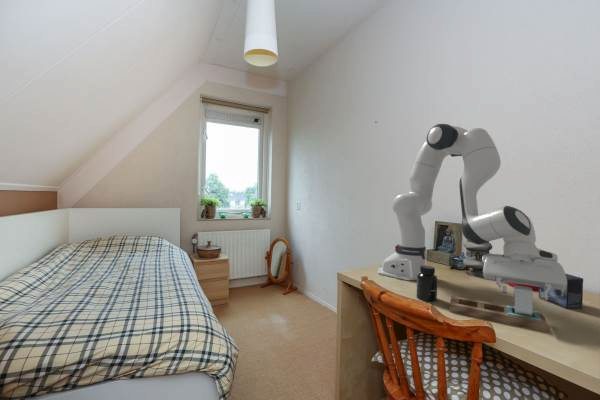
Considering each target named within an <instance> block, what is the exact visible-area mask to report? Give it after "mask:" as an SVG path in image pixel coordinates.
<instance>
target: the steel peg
mask: <svg viewBox="0 0 600 400" xmlns="http://www.w3.org/2000/svg"><path fill="white" fill-rule="evenodd" d="M533 301H534V291H533V290H532V289H531V287H524V286H517V285H514V287H513V307H514V309H513V313H514V314H519V315H524V316H529V317H532V311H533V308H534V307H533V304H534V303H533Z"/></svg>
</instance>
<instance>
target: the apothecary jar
mask: <svg viewBox="0 0 600 400" xmlns="http://www.w3.org/2000/svg"><path fill="white" fill-rule="evenodd" d="M463 247H464V248H465V251H466V252H465V258H463V261H462V262H463V264H464V266H465V267H467V268H470V269H468V270H466V271H465V272H464V273H465V274H467V275H468V276H471V277H475V278H476V277H477V278H485V277H484V276H483V267H484V263H483V262H482V256H483V255H485V254H488V253H490V251H491V250H492V249H493V245H492V243H491V242H490V241H489V242H486V243H483V244H480V245H478V244H475V243H472V242H470V241H469V240H467V239H466V240H465V241H464V242H463ZM486 256H487V255H486Z"/></svg>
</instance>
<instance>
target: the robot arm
mask: <svg viewBox="0 0 600 400" xmlns="http://www.w3.org/2000/svg"><path fill="white" fill-rule="evenodd" d="M447 156H450V157H453V158H454V157H462V161H463V166H464V167H463V172H462V176H461V177H460V178H459V197H460V198H459V199H460V206H461V207H460V208H461V219H462V220H461V232H462V234H463V237H464V238H465V239H466V241H467V240H469V241H470V242H472V243H475V244H478V245H480V244H483V243H486V242H489V243H490V242H491V241H494V240H499V239H502V240H503V242H504V243H503V247H502V248H503V254H499V253H495V254H494V253H490V252H489V253H488V254H485V255H483V256H482V262H483V263H484V267H483V270H482V271H483V276H484V277H483V278H484V279H486V280H490V281H495V284H496V285H497V287H499V289H500V293H501V294H507V293H508V291H507V288H508V287H507V285H504V284H503V283H509V282H510V283H517V284H524V285H531V286H537V287H544V290H545V292H540V298H539V299H540V300H541V301H542V300H543V301H546V300H547V299H548V293H549V292H550V291H551V289H558V290H563V289H564V288H565V287H566V285H567V278H566V275H565V274H566V272H565V269H564V267H563V265H562V264H561V263H559V262H558V258H559V257H558V255H557V254H556V253H553V252H552V251H546V250H544V249H541V248H537V245H536V242H537V237H536V231H535V227H534V224H533V222H532V220H531V218H530V217H529V216H528V215H526V213H524V212H523V211H522V210H520V209H518V208H515V207H513V206H511V205H510V206H509V205H505V206H502V207H498V208H494V209H491V210H489V211H487V212H483V213H480V214H479V210H478V201H477V195H478V192H479V190H480V189H481V188H482V187H483V186H484V185H485V184H486V183H487V182H488V181H489V180H491V179H492V178H493V177H494V176H495V175H496V174H497V172H498V171H499V169H500V168H501V162H502V161H501V157H500V153H499V151H498V149H497V145H496V144H495V141H494V140H493V138H492V137H491V135H490V134H489V133H488V131H487V130H486V129H485V128H481V127H476V128H471V129H469V130H467V129H466V128H462V127H460V126H454V125H450V124H449V123H448V124H447V123H438V124H435V125H433V126H432V127H431V128H430V129H429V130H428V132H427V135H426V141H424V143H423V144H422V145H421V147H420V149H419V151H418V153H417V154H416V157H415V159H414V160H415V161H414V163H413V167H412V168H411V171H410V175H409V182H410V183H409V190H408V191H409V192H404V193H401V194H399V195H397V196H395V198H393V200H392V203H391V205H392V210H393V212H394V213H395V216H396V217H397V218H396V219H397V221H398V226H399V228H398V229H399V243H397V244H396V245H395V246H394V251H395V252H393V253H392V254H391V255H389V256H388V257H386V258H385V259H384V260H383V262H382V266H381V267H379V268H378V269H377V274H378V275H382V276H386V277H391V278H395V279H400V280H404V281H417V275H418V274H419V273H421V272H420V266H427V264H426V258H427V246H426V229H425V227H424V225H423V222H422V217H421V216H424V215H426V214H427V213H429V212H430V211H431V210H432V207H433V200H432V199H433V192H434V188H435V184H436V181H437V178H438V175H439V173H440V170H441V167H442V165H443V161H444V159H445V158H446V157H447ZM486 255H487V256H486ZM502 282H503V283H502Z"/></svg>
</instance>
